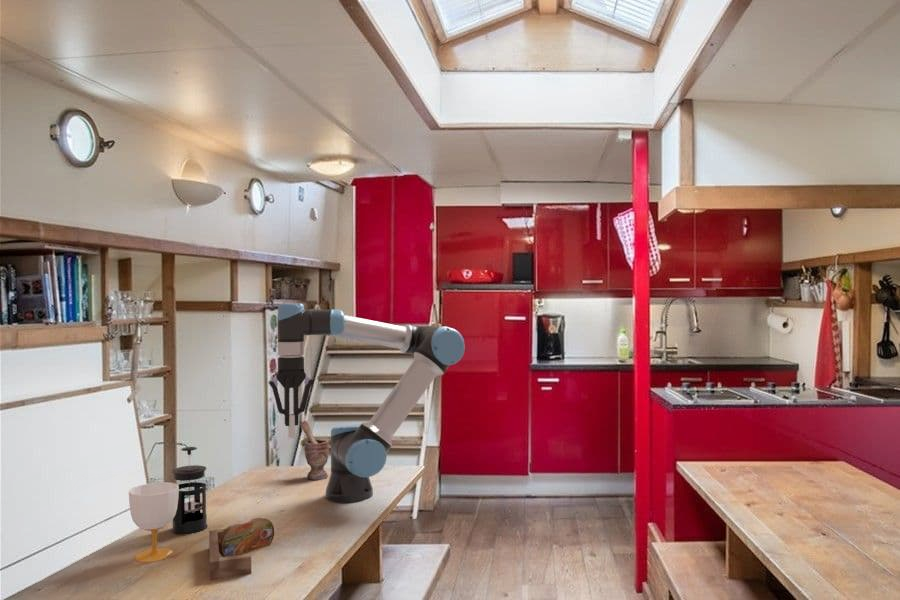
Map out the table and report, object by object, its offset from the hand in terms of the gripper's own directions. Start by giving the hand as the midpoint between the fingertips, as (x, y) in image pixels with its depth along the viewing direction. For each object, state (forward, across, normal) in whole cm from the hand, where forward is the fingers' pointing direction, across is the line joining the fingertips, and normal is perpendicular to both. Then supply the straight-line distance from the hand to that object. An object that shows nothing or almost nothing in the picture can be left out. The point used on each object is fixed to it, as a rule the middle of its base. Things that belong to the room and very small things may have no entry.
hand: (291, 436), depth 196 cm
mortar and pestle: (+25, -13, -45) cm, 53 cm away
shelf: (+24, +18, +27) cm, 41 cm away
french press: (+25, +28, -3) cm, 38 cm away
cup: (+25, +36, +15) cm, 46 cm away
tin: (+25, +14, +22) cm, 36 cm away
